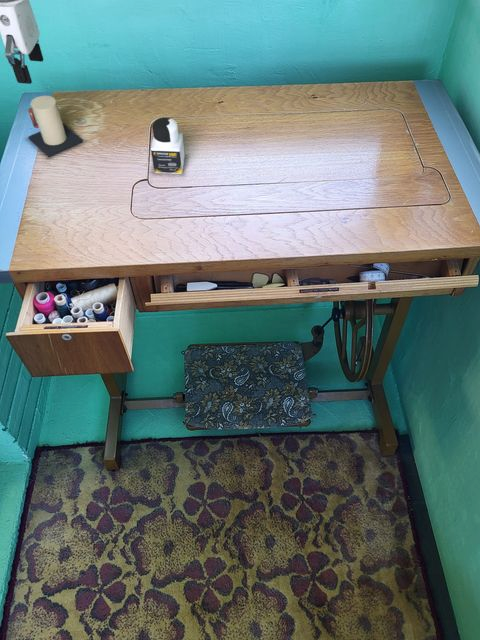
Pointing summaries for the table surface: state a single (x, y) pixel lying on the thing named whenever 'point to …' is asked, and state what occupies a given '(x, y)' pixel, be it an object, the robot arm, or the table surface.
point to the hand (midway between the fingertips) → (31, 71)
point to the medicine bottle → (167, 147)
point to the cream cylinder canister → (47, 119)
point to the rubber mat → (55, 149)
